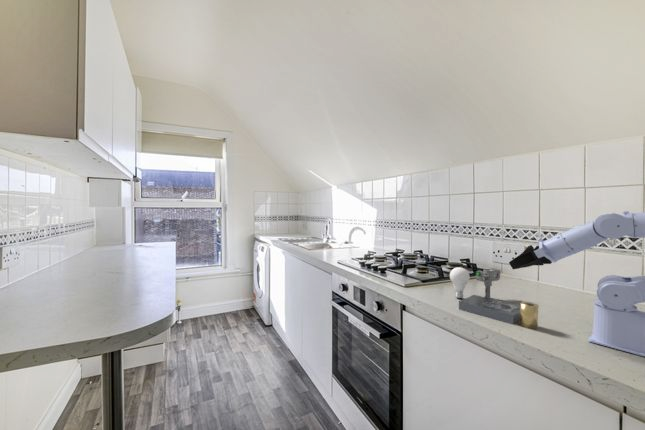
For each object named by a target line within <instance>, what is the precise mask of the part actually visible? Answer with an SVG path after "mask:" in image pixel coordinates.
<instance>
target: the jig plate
mask: <svg viewBox="0 0 645 430" xmlns="http://www.w3.org/2000/svg"><path fill="white" fill-rule="evenodd" d="M458 309H459V310H461V311H464V312H468V313H472V314H475V315H478V316H482V317H485V318H486V317H487V318H489V319H492V320H497V321H500V322H504V323H508V324H511V325H515V324H516V323H517V322H518V321H520V304H516V303H511V302H506V301H504V300H503V301H502V300H498V299H494V298H491V297H490V298H487V297H485V296H480V295H477V294H472V295H470V296H468V297H465V298H463V299H461V300H459V301H458Z"/></svg>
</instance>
